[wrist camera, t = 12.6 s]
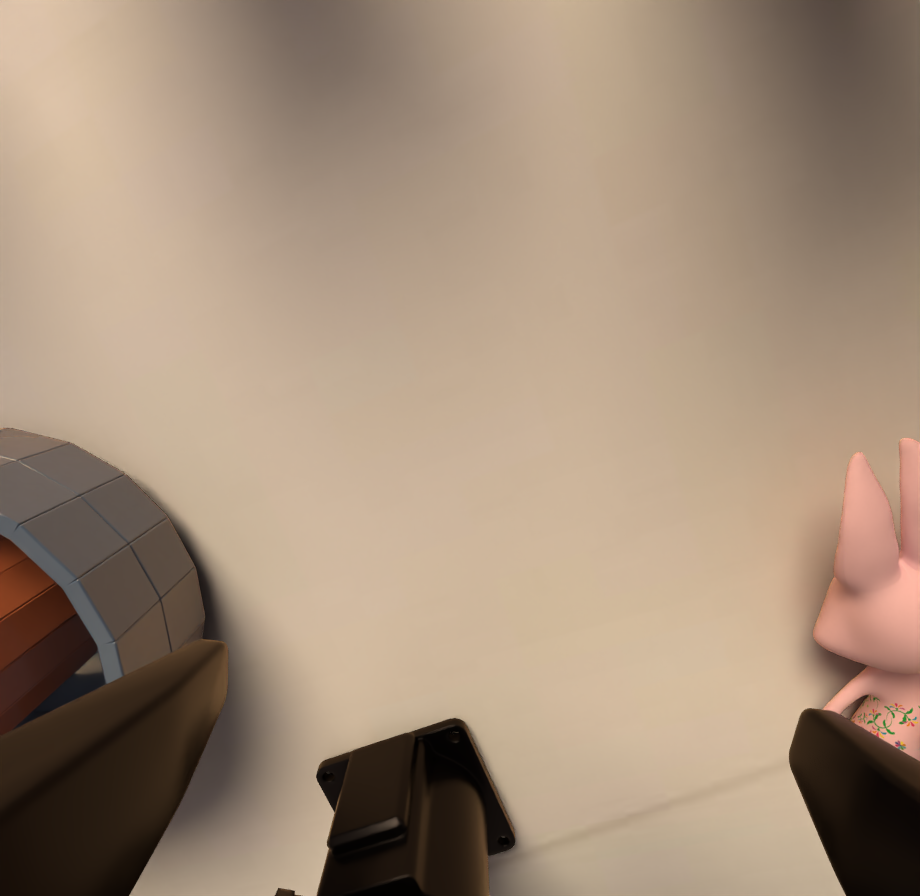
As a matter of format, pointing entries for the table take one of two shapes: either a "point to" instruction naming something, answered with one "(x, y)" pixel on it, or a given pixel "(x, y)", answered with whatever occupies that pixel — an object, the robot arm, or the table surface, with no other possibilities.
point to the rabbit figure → (878, 602)
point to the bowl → (99, 556)
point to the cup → (34, 637)
